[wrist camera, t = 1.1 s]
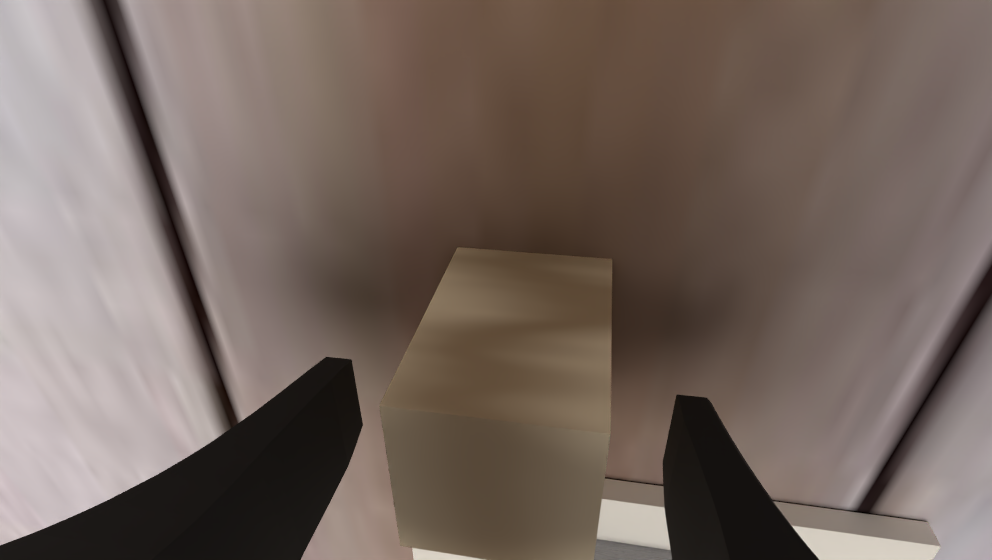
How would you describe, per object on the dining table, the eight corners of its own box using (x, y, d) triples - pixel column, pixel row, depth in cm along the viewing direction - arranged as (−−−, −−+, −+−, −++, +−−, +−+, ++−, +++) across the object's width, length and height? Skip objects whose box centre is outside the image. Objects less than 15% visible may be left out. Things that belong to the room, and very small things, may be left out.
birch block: (612, 258, 15) (610, 433, 10) (598, 379, 17) (591, 576, 12) (457, 246, 15) (379, 405, 10) (463, 365, 17) (400, 545, 12)
